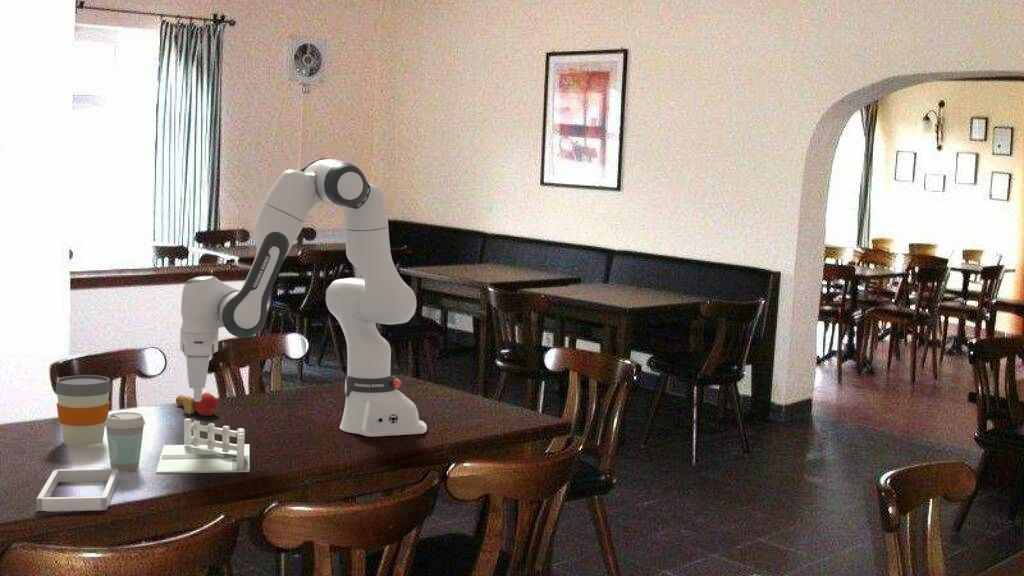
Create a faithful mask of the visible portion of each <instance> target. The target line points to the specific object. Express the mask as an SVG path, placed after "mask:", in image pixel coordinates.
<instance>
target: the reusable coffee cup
mask: <svg viewBox="0 0 1024 576" xmlns="http://www.w3.org/2000/svg"><path fill="white" fill-rule="evenodd" d="M55 383H56V384H55V394H56V396H57V402H56V409H57V417H58V423H59V424H60V425H61V433H62V439H63V441H62V442H63V444H64V445H68V446H74V447H83V446H85V447H86V446H92V445H94V446H95V445H97V444H101V443H103V442H104V436H105V430H106V428H105V427H106V426H105V421H106V419H107V416H108V415H109V411H110V401H109V398H110V397H109V396H110V393H111V392H112V389H111V388H112V387H111V380H110V378H109V377H107V376H104V375H103V376H102V375H96V374H95V375H92V374H91V375H90V374H81V375H80V374H79V375H70V376H69V375H68V376H63V377H58V378H57V379H56V382H55Z"/></svg>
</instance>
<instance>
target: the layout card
mask: <svg viewBox="0 0 1024 576" xmlns="http://www.w3.org/2000/svg"><path fill="white" fill-rule="evenodd" d="M235 444H236V445H237V443H235ZM207 448H208V446H207V445H202V444H200V446H198V447H195V446H193V444H191V445H184V444H163V446H162V450H161V453H160V457H159V461H158V464H157V467H156V471H155V474H160V475H161V474H203V473H204V474H206V473H207V474H209V473H211V474H213V473H215V474H216V473H219V474H220V473H250V443H248V444H247V443H244V469H242V470H238V469H237V451H234V450H229V452H222V448H218V447H214V449H212V450H211V449H207Z"/></svg>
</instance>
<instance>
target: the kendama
mask: <svg viewBox="0 0 1024 576" xmlns="http://www.w3.org/2000/svg"><path fill="white" fill-rule="evenodd" d="M175 398H176V399H175V403H176V405H177V406H179V407H183V409H184V411H185V413H186V414H188V415H192V414H194V413H195V411H196V412H197V414H199V415H200V416H202V417H209V416H210V417H211V415H213V414H215V413H216V412H217V410H218V405H219V404H218V403H219V402H218V399H217V398H216V397H215V396H214V395H212V394H211V393H210V392H204V393H202V399H201V401H200V402H195V401H194V397H191V396H189V395H188V396H186V395H183V394H179V395H177V396H176V397H175Z"/></svg>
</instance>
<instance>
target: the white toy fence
mask: <svg viewBox="0 0 1024 576" xmlns="http://www.w3.org/2000/svg"><path fill="white" fill-rule="evenodd" d="M183 426H184V428H183V431H184V433H183V434H184V435H183V437H184V438H183V440H184V441H183V445H193V446H195V447H198V446H200V445H207V446H208V448H207V449H211V450H212V449H214V447H218V448H222V452H229V450H234V451H237V445H236V444H237V443H231V442H230V437H233V438H237V431H238V430H244V431H245V428H241V427H239V428H237V430H233V429H230V426H229V425H223V426H222V428H221V427H216V425H215V423H212V422H209V423H207V425H204V424H201V421H200V420H193V421H192V418H185V419H184V425H183ZM201 432H205V433H207V438H202V437H201ZM215 435H221V436H222V437H221V438H222V441H218V440H216V439H215ZM245 439H246V435H245V436H244V441H245Z"/></svg>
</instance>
